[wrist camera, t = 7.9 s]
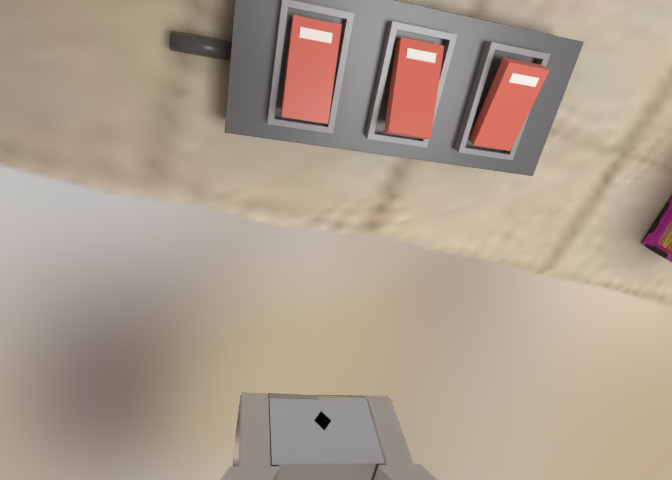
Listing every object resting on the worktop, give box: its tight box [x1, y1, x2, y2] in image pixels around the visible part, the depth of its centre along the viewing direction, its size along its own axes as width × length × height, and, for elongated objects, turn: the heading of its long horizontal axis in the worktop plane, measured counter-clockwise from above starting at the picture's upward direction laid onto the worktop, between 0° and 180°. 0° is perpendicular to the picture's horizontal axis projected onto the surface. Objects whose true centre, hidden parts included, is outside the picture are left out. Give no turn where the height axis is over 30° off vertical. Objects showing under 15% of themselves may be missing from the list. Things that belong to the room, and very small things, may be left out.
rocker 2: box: [384, 37, 444, 139], centre depth 31 cm, size 3×6×1 cm, turn 170°
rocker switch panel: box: [170, 0, 584, 176], centre depth 33 cm, size 28×10×4 cm, turn 79°
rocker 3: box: [469, 57, 550, 151], centre depth 32 cm, size 3×6×1 cm, turn 169°
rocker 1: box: [281, 15, 342, 124], centre depth 29 cm, size 3×6×1 cm, turn 169°
